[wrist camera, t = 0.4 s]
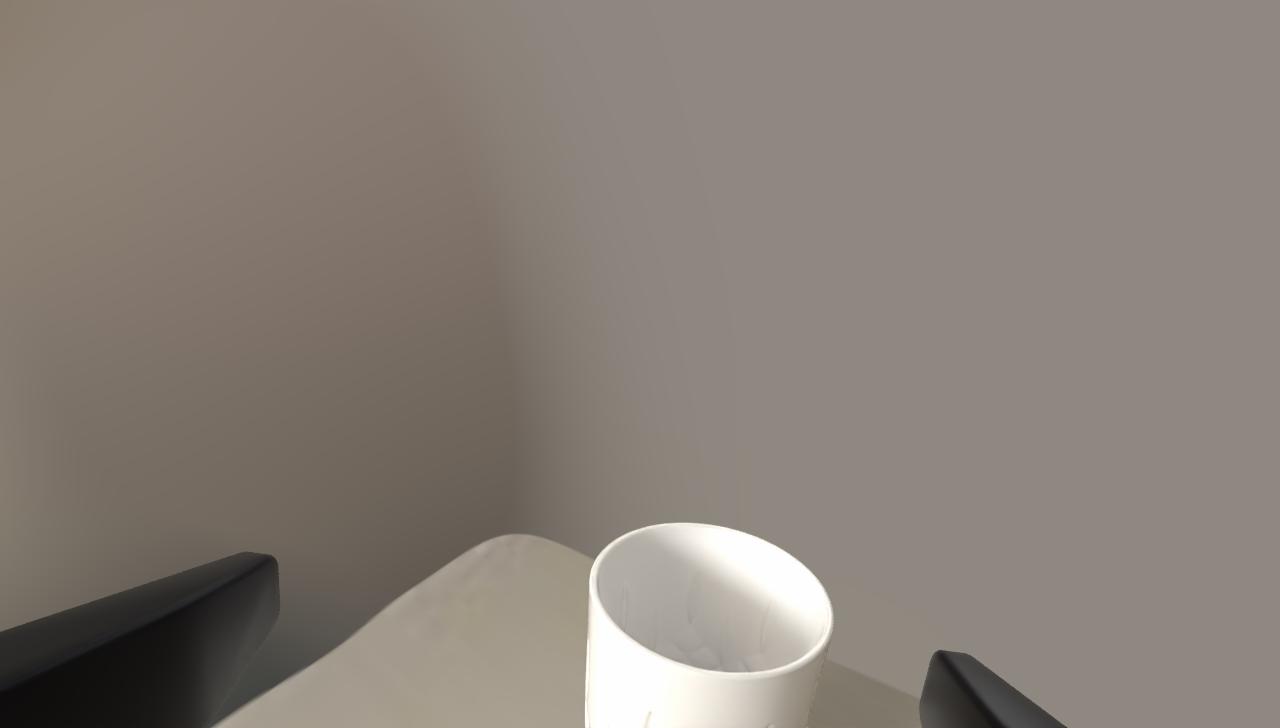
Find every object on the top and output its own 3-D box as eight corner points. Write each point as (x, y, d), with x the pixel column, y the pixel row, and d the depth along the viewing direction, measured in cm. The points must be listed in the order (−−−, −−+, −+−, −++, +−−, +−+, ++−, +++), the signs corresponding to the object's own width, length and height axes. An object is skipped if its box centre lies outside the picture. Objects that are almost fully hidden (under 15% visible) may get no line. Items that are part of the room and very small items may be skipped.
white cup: (659, 696, 29) (684, 500, 26) (820, 815, 24) (872, 590, 21) (523, 816, 23) (538, 579, 20) (701, 1006, 18) (753, 729, 15)
